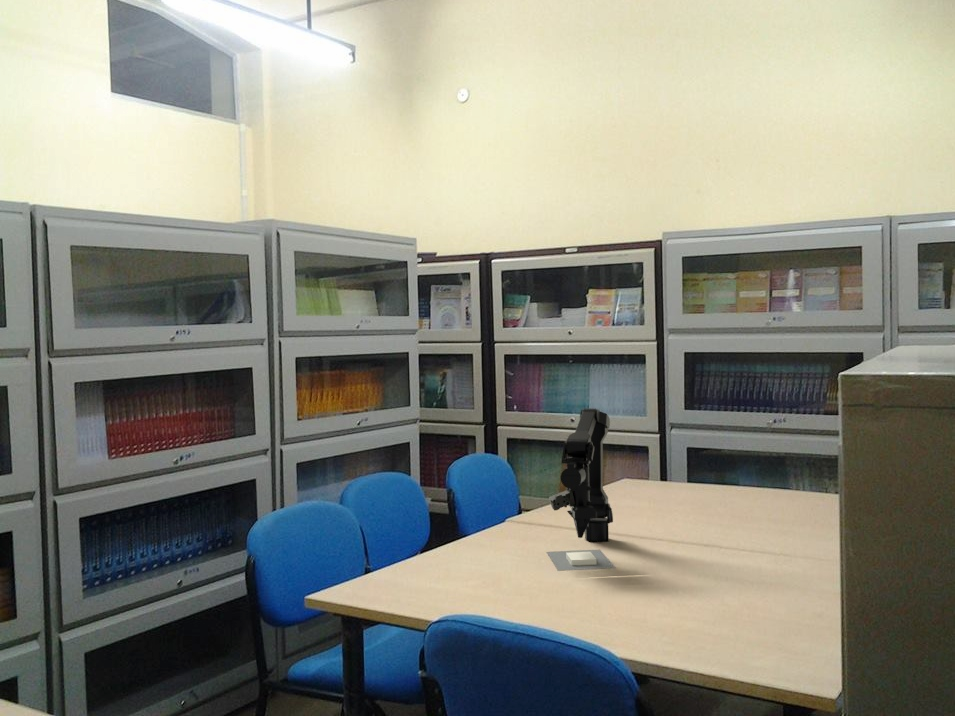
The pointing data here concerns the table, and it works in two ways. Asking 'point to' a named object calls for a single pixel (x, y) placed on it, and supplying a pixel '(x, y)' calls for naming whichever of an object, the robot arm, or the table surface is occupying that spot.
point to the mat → (563, 564)
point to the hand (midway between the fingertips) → (580, 537)
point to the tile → (581, 558)
